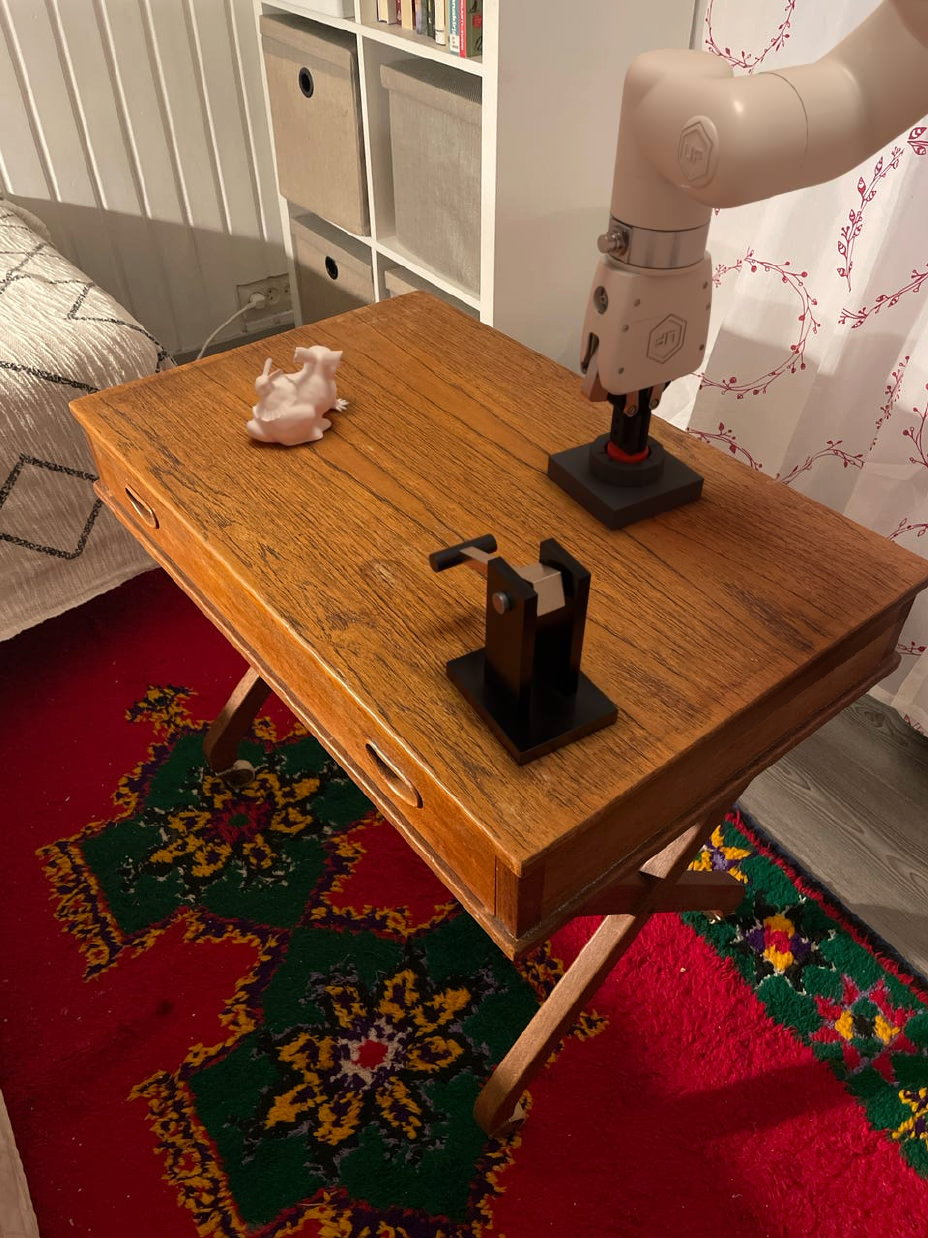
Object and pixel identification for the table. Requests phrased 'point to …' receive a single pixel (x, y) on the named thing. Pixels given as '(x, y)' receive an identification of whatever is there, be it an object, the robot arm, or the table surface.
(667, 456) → the control block
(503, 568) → the switch bracket
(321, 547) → the table surface
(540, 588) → the lever
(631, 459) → the button
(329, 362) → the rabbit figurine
